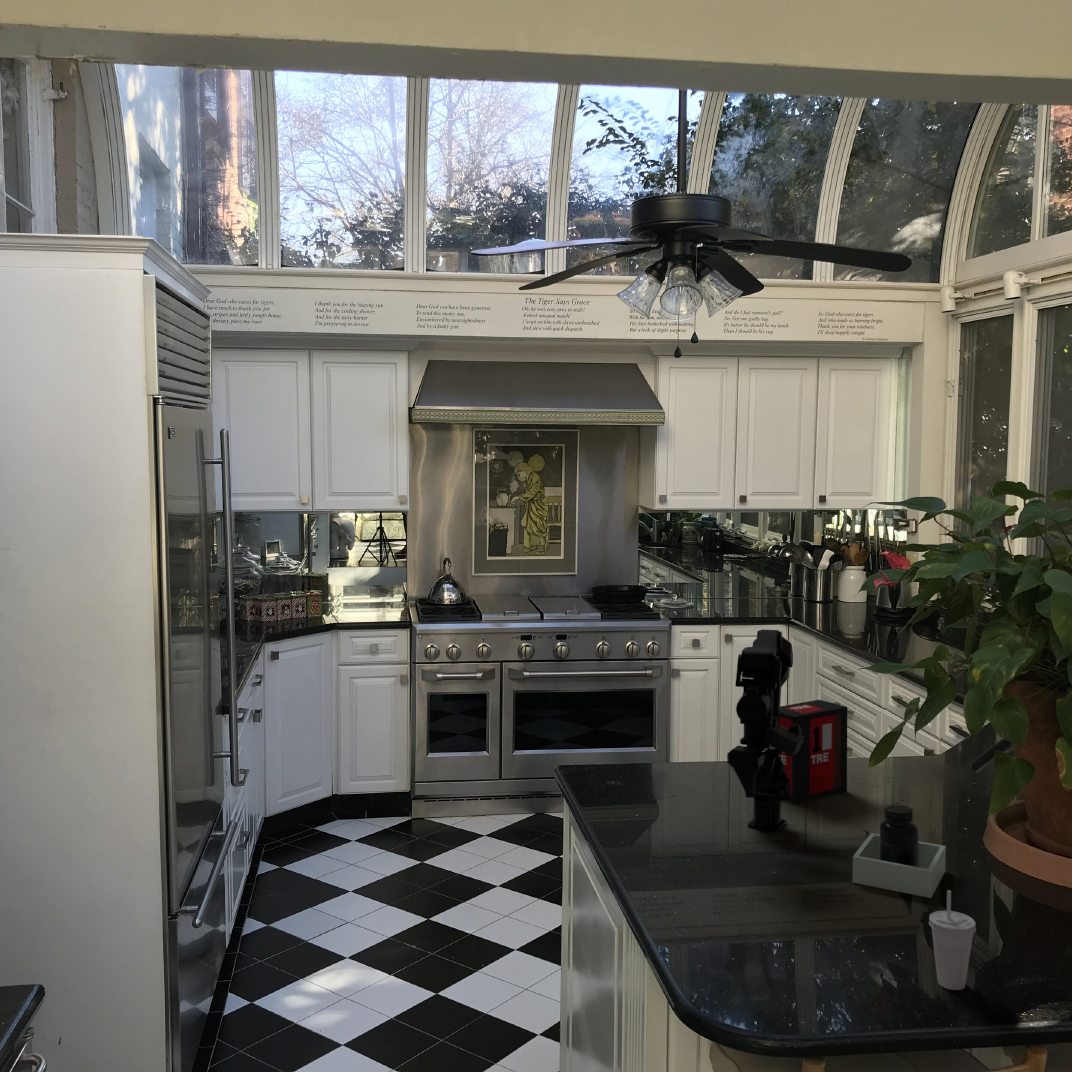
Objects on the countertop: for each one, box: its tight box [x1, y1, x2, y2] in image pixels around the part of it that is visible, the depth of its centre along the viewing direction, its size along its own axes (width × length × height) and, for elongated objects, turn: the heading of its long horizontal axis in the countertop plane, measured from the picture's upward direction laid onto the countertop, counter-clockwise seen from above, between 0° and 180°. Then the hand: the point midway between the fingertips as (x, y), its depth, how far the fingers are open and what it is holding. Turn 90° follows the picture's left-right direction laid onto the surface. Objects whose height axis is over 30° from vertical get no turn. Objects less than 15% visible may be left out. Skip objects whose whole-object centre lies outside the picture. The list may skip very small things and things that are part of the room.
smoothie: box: [928, 889, 977, 991], centre depth 149 cm, size 6×6×14 cm
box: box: [852, 832, 947, 899], centre depth 187 cm, size 14×14×5 cm
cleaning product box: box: [779, 699, 848, 805], centre depth 235 cm, size 16×9×20 cm, turn 120°
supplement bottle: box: [879, 804, 920, 867], centre depth 187 cm, size 7×7×12 cm
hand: (758, 790), depth 201 cm, fingers open, 9 cm apart
